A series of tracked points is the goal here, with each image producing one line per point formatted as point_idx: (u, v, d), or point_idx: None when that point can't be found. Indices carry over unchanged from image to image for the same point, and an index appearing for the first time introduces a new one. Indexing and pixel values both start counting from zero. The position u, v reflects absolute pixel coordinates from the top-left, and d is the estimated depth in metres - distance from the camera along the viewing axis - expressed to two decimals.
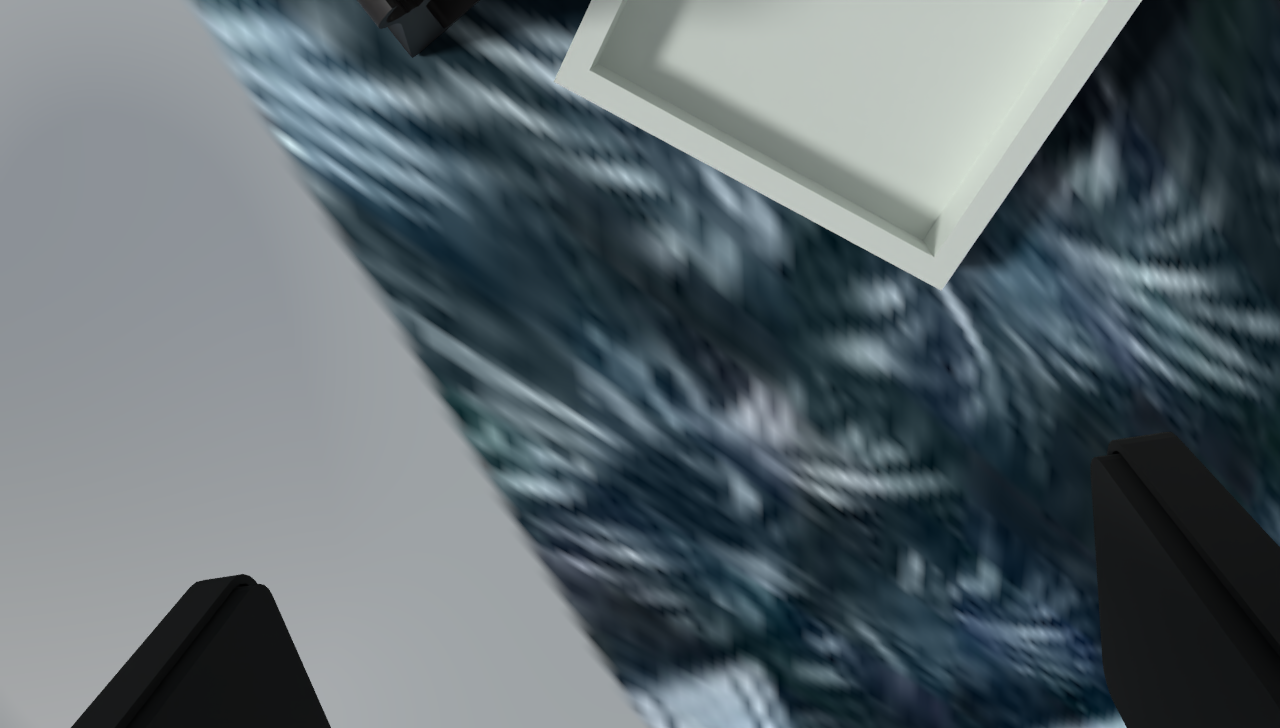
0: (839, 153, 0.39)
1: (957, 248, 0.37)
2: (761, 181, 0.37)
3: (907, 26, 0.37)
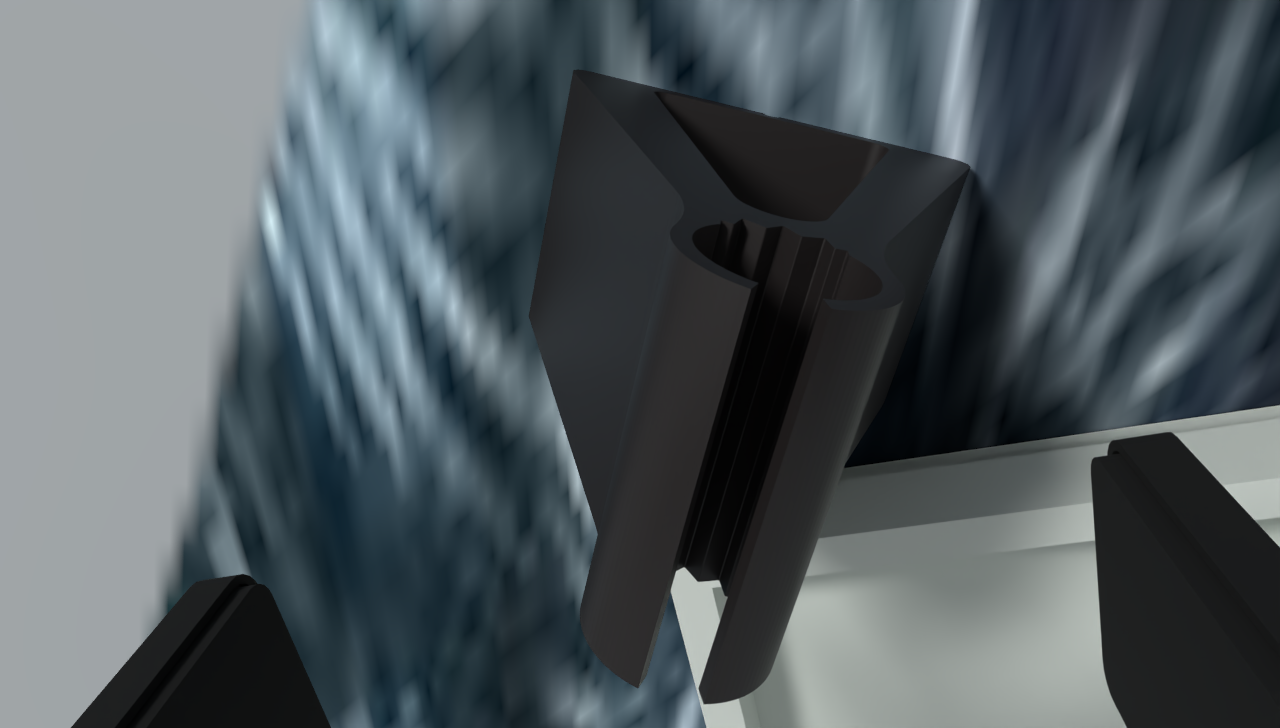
0: None
1: None
2: None
3: None
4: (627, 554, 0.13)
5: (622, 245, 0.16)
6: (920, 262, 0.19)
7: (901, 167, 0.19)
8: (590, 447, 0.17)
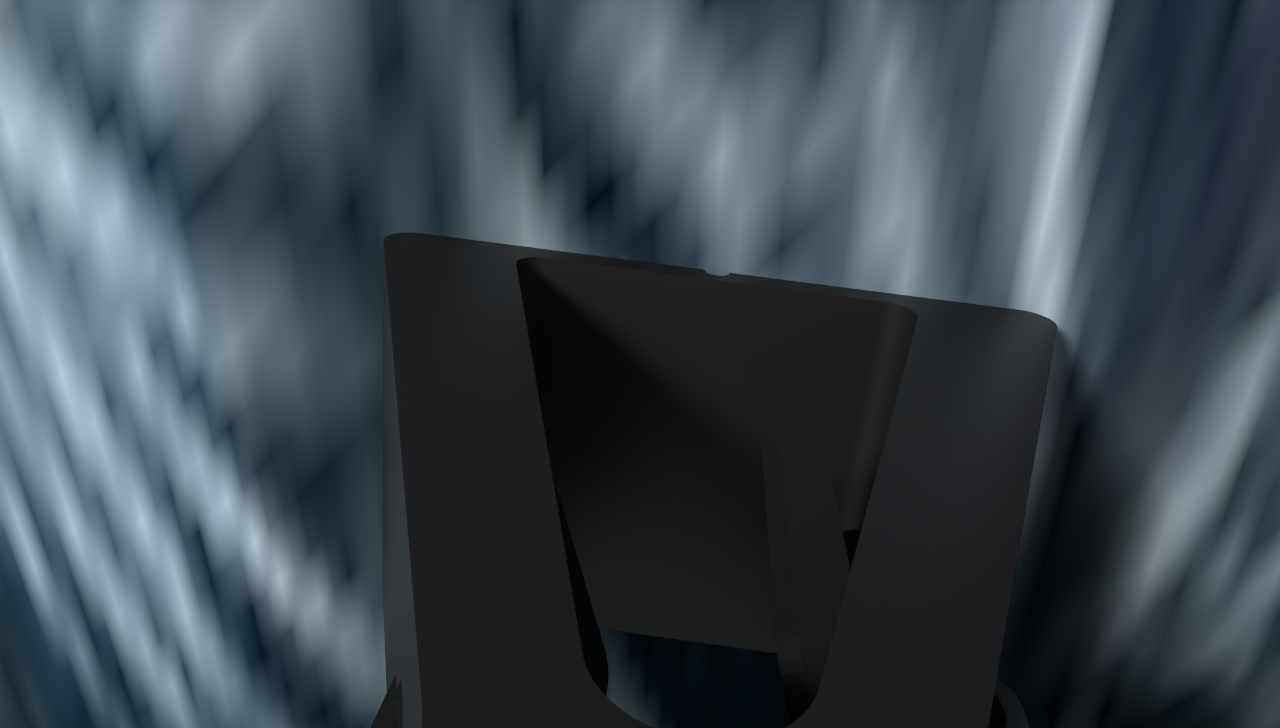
0: None
1: None
2: None
3: None
4: None
5: (403, 671, 0.08)
6: None
7: (947, 368, 0.11)
8: None
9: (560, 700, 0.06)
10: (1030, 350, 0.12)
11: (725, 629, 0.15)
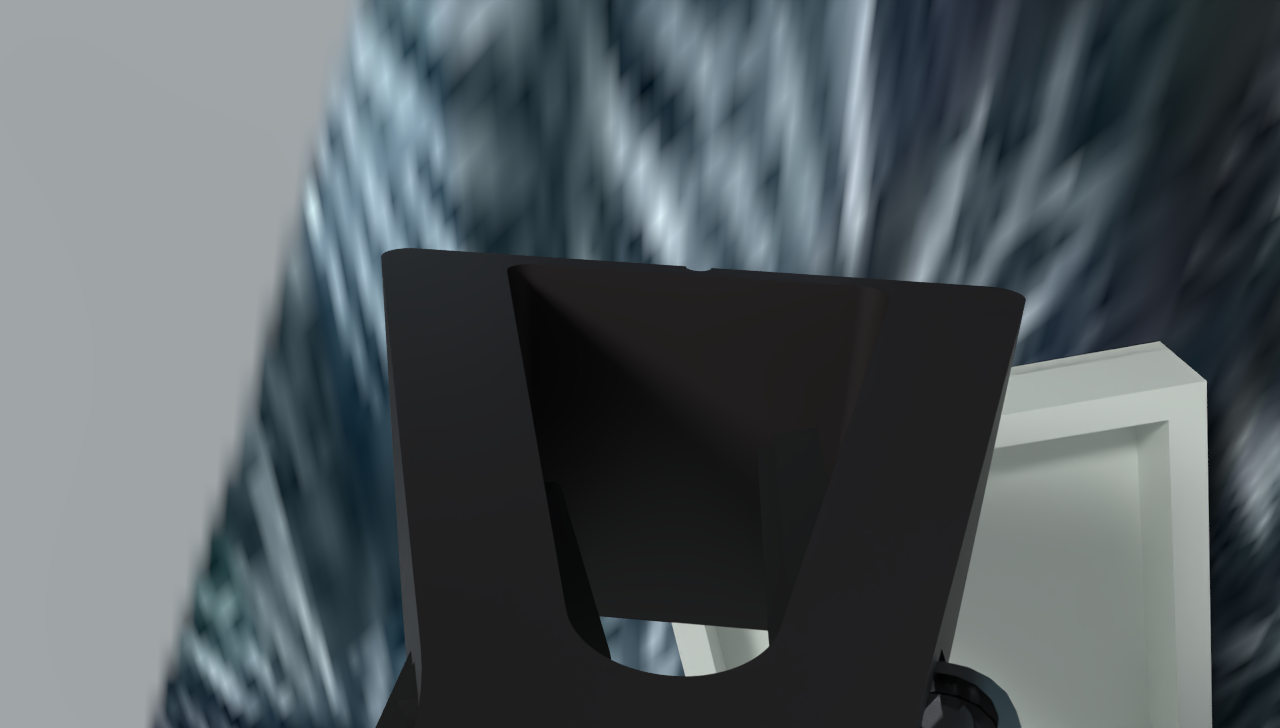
0: None
1: None
2: None
3: None
4: None
5: (413, 646, 0.09)
6: (978, 507, 0.11)
7: (916, 344, 0.11)
8: None
9: (545, 648, 0.06)
10: (998, 323, 0.12)
11: (730, 611, 0.16)
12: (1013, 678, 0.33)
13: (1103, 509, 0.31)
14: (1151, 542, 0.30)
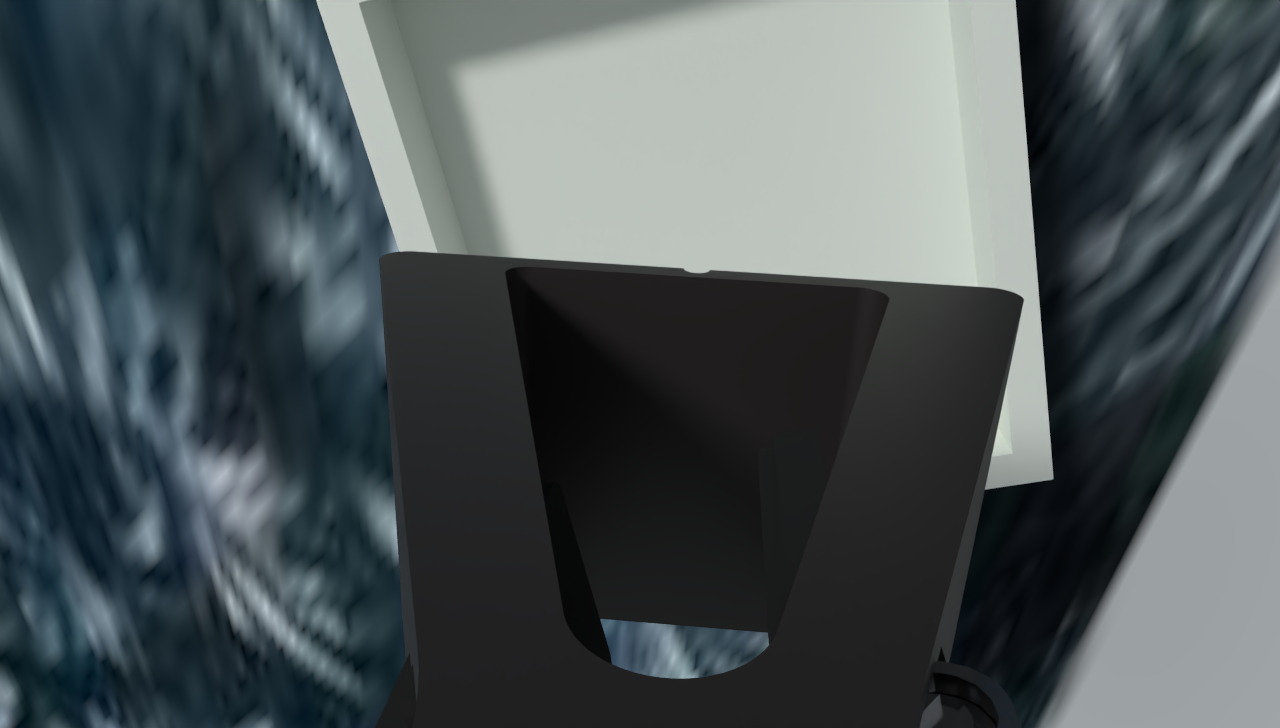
0: None
1: None
2: None
3: None
4: None
5: (411, 650, 0.09)
6: (977, 508, 0.11)
7: (914, 345, 0.11)
8: None
9: (542, 651, 0.06)
10: (996, 324, 0.12)
11: (730, 613, 0.16)
12: None
13: (908, 48, 0.25)
14: (962, 78, 0.24)
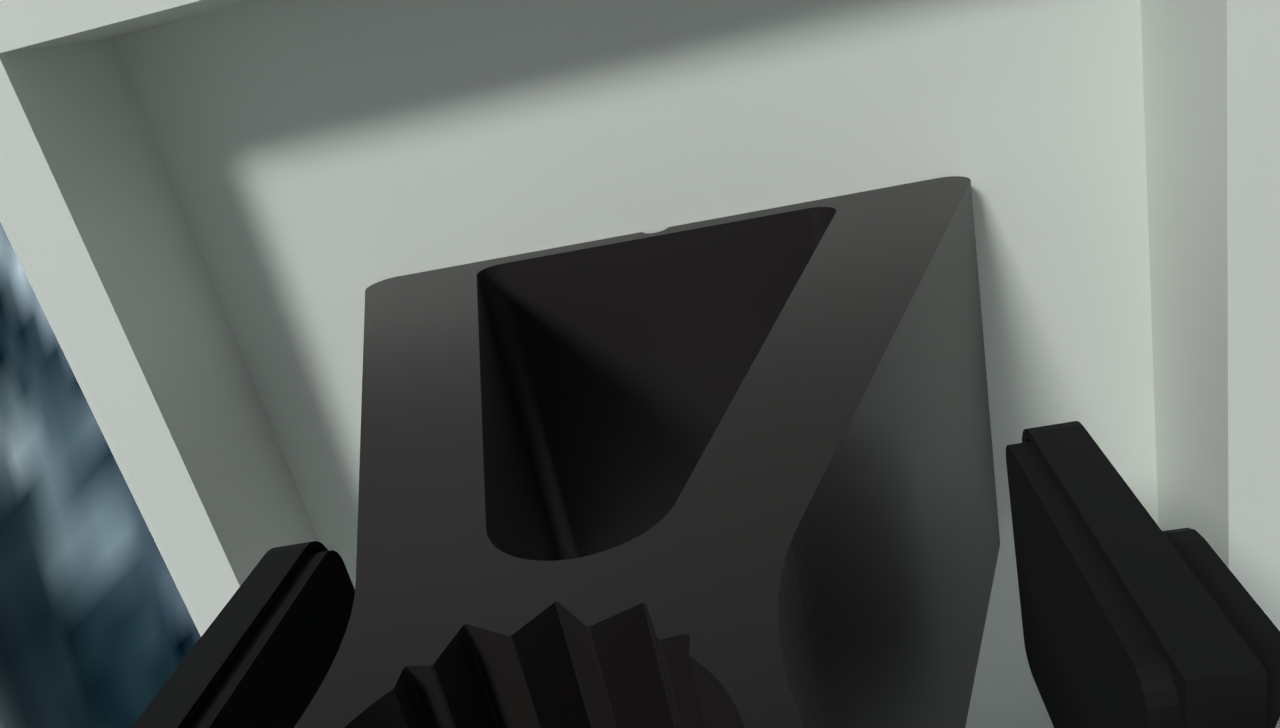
0: None
1: None
2: (199, 578, 0.15)
3: None
4: None
5: None
6: (943, 383, 0.11)
7: (853, 244, 0.12)
8: None
9: (462, 561, 0.07)
10: (937, 207, 0.12)
11: None
12: None
13: (1061, 132, 0.13)
14: (1171, 192, 0.13)
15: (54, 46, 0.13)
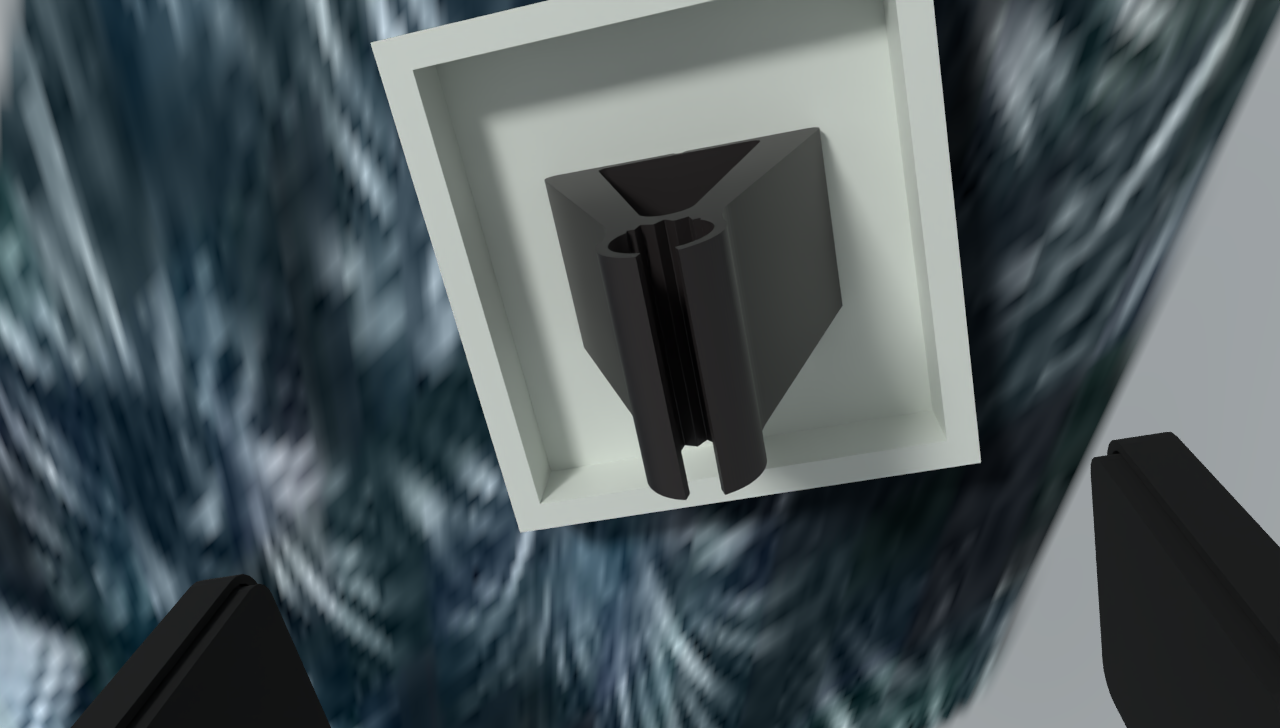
0: (555, 345, 0.34)
1: (563, 515, 0.34)
2: (466, 313, 0.32)
3: None
4: (647, 427, 0.22)
5: (598, 269, 0.26)
6: (797, 203, 0.28)
7: (763, 150, 0.29)
8: None
9: (634, 219, 0.24)
10: (801, 137, 0.29)
11: None
12: None
13: (859, 107, 0.30)
14: (903, 133, 0.30)
15: (423, 66, 0.30)
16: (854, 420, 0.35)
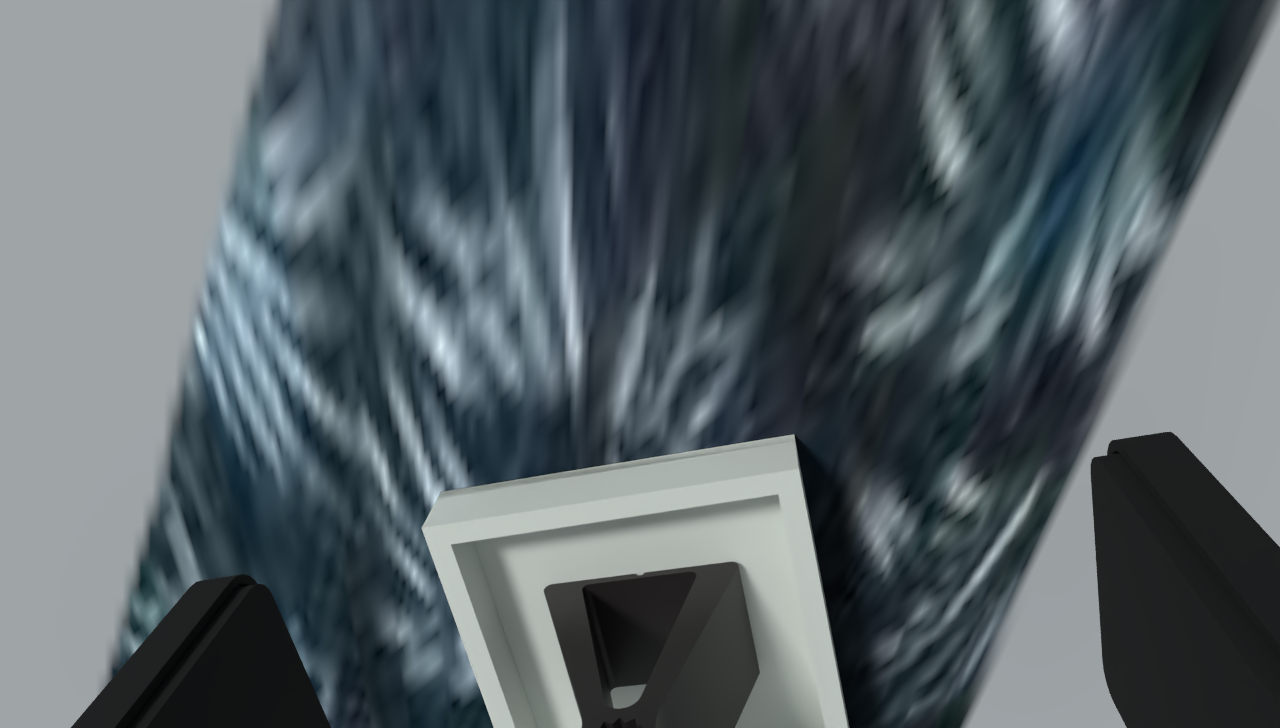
0: (553, 688, 0.47)
1: None
2: (488, 687, 0.44)
3: None
4: None
5: None
6: (718, 643, 0.41)
7: (696, 599, 0.41)
8: None
9: (600, 707, 0.36)
10: (723, 583, 0.42)
11: None
12: None
13: (767, 550, 0.43)
14: None
15: None
16: None
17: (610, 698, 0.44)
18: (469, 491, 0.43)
